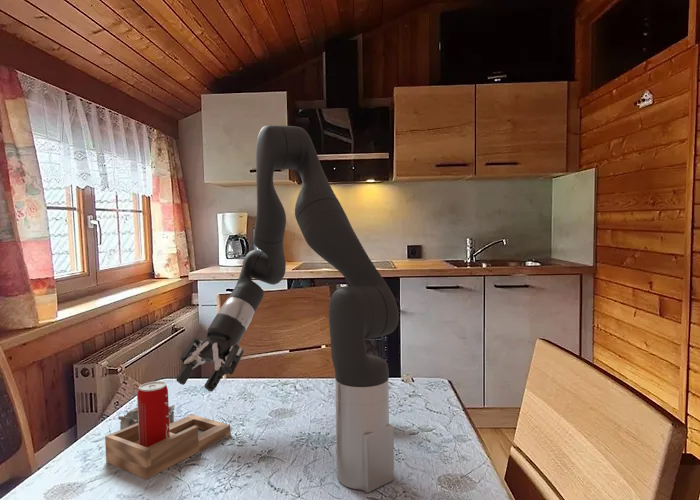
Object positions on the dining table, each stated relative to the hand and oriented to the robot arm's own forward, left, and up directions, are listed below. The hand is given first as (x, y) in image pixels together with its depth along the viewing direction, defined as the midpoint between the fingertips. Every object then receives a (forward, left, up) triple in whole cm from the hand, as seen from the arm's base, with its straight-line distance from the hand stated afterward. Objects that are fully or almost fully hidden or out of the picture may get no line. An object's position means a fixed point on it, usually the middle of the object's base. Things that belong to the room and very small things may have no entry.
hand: (193, 386), depth 97 cm
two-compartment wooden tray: (-2, +5, -11) cm, 12 cm away
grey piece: (+12, +6, -11) cm, 17 cm away
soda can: (-3, +9, -9) cm, 13 cm away
